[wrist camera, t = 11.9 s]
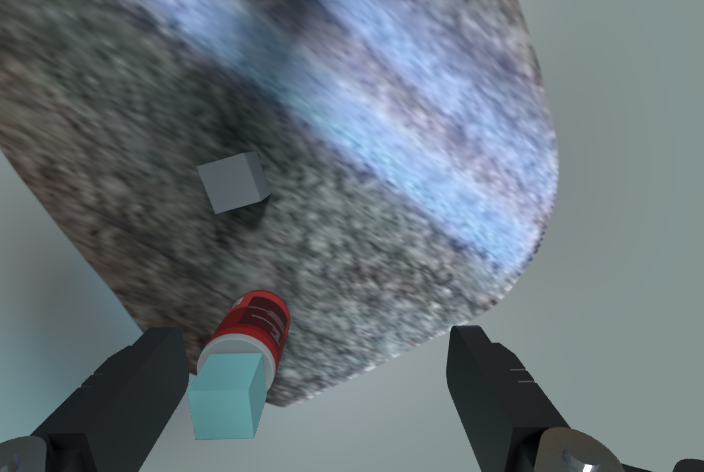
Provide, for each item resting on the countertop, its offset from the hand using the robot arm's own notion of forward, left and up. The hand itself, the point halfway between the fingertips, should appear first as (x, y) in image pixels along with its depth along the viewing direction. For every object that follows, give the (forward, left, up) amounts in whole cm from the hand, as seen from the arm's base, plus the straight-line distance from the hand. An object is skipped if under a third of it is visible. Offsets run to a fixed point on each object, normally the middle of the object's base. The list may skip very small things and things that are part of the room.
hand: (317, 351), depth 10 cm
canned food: (+16, -10, -31) cm, 36 cm away
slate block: (-2, -11, -31) cm, 32 cm away
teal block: (+16, -10, -19) cm, 27 cm away
